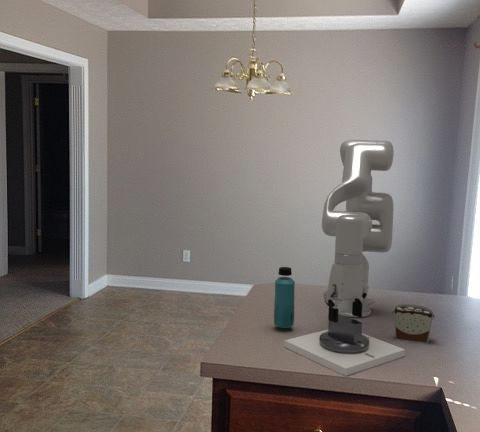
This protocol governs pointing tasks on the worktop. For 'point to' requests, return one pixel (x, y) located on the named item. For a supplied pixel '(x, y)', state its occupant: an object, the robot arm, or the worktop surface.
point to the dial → (344, 336)
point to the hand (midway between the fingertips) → (345, 318)
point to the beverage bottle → (284, 299)
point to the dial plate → (343, 361)
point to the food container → (412, 323)
